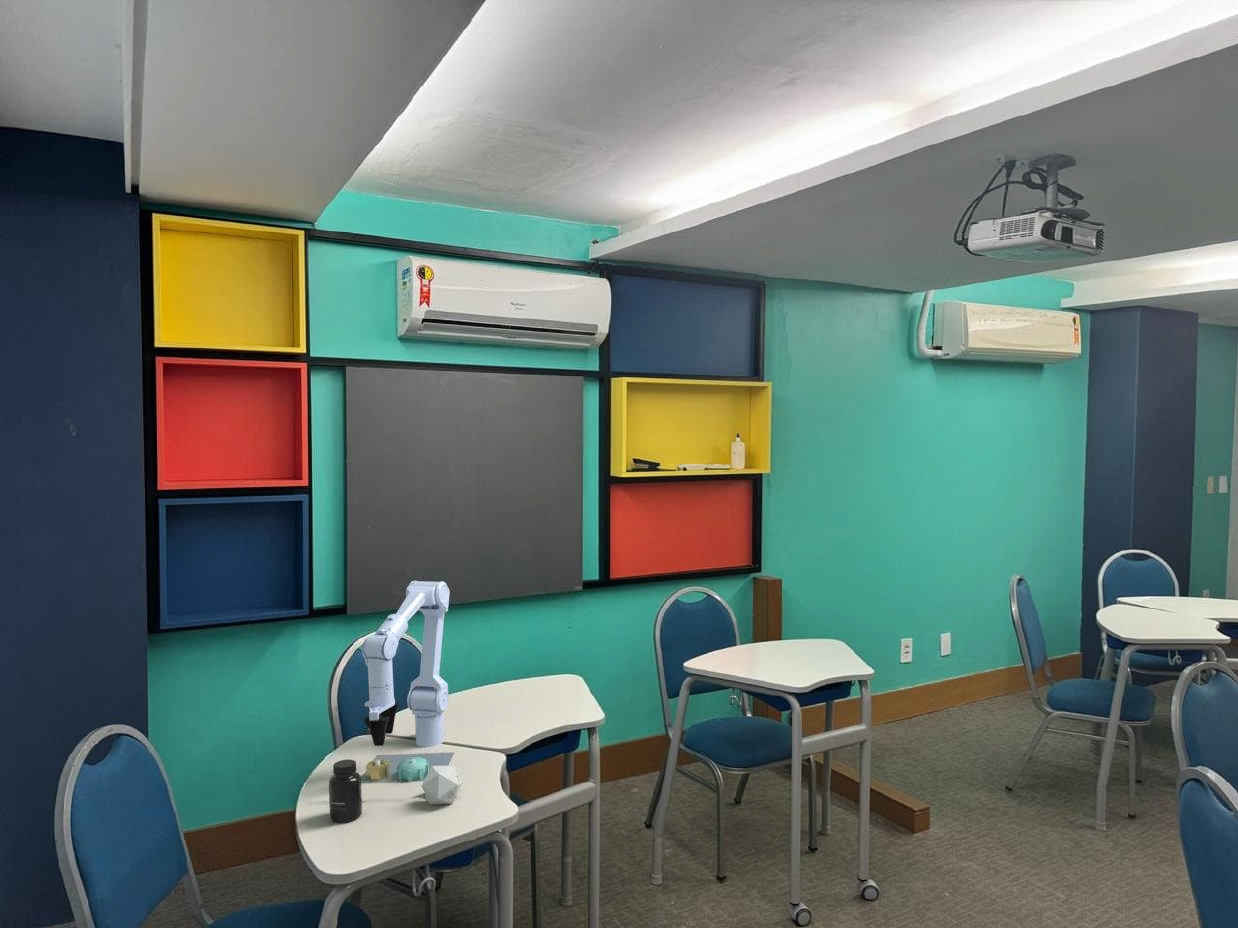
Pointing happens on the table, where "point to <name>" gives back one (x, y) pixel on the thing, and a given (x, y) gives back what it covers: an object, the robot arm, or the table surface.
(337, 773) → the supplement bottle
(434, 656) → the robot arm
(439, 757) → the gear board
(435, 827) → the table surface
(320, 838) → the table surface
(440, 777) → the die
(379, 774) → the yellow faceted ring
